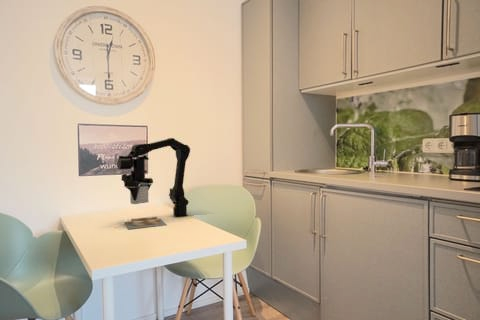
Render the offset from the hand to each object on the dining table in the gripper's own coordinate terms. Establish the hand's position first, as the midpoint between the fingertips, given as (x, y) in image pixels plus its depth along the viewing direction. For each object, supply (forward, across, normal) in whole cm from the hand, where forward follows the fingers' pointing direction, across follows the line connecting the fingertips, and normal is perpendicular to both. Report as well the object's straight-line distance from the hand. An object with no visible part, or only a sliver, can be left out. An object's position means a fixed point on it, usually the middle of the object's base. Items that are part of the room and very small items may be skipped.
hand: (139, 199), depth 168 cm
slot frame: (+12, +4, +5) cm, 14 cm away
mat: (+12, +4, +5) cm, 14 cm away
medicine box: (+2, 0, 0) cm, 2 cm away
